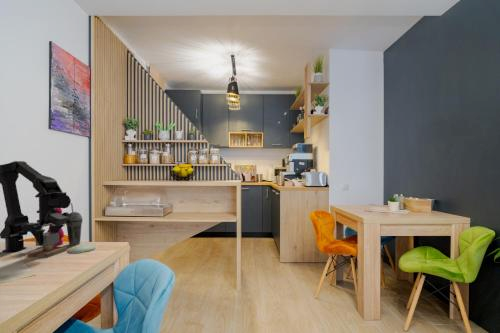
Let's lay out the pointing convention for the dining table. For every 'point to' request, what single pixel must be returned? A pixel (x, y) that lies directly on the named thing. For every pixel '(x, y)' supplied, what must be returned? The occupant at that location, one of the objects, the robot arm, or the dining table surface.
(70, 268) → the dining table surface
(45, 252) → the post block
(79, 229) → the beverage cup
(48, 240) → the gray square block
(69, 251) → the mat
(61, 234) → the pepper mill
